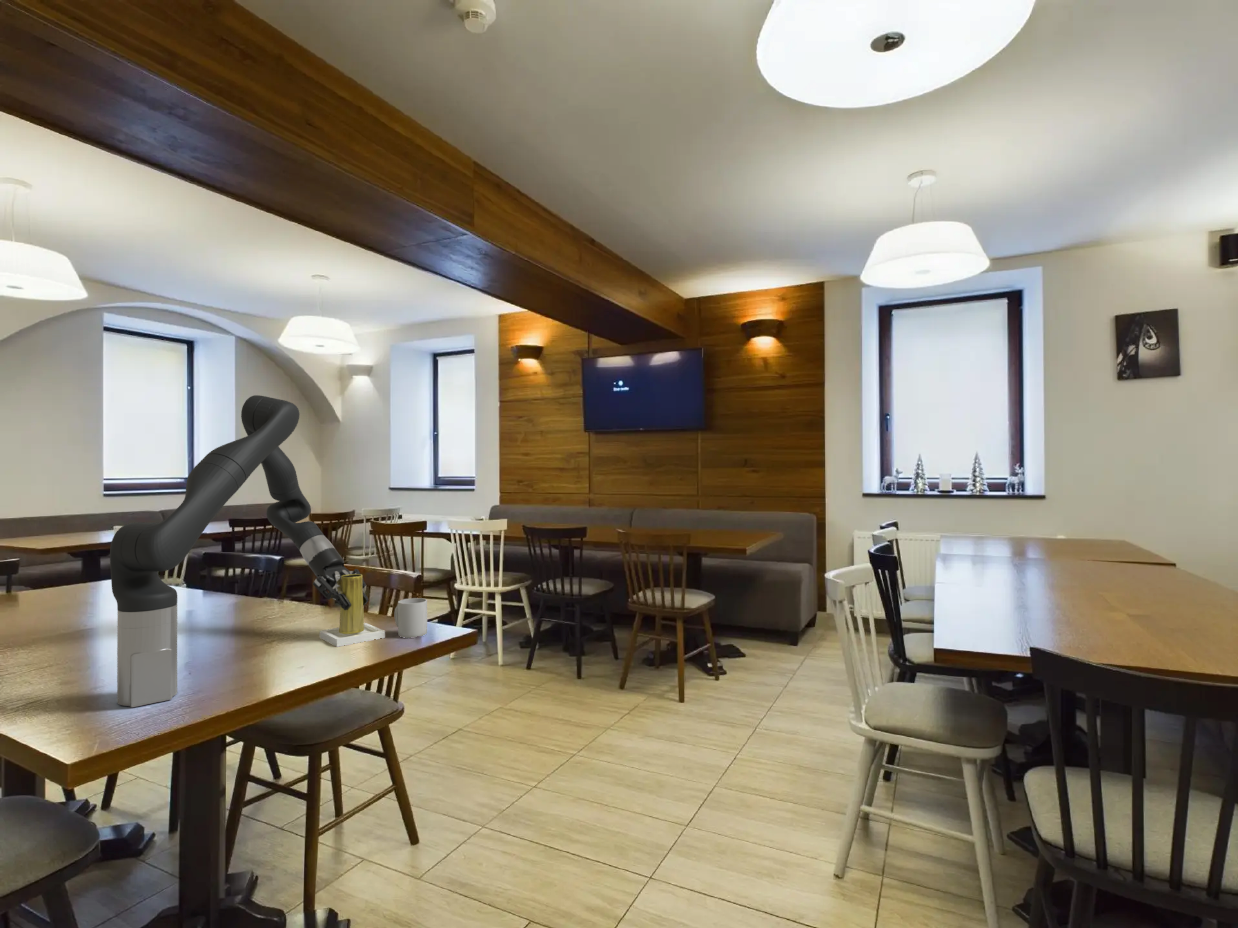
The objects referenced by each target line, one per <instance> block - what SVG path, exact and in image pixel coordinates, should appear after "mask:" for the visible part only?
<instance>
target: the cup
mask: <svg viewBox="0 0 1238 928" xmlns="http://www.w3.org/2000/svg"><path fill="white" fill-rule="evenodd" d="M393 614H394V623H395V626H397V633H398V634H397V635H398V637H399V636H401V637H405V638H404V639H408V638H410V639H412V638H411V637H417V636H423V635H425V634H426V635H427V633H428V599H426V598H422V597H421V598H420V597H419V598H418V597H411V598H403V599H401V600H398V601H397V605H396V607H395V608H394V613H393ZM426 635H425V636H426ZM401 637H400V638H401ZM423 637H424V636H423Z"/></svg>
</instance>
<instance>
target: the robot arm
mask: <svg viewBox="0 0 1238 928" xmlns="http://www.w3.org/2000/svg"><path fill="white" fill-rule="evenodd" d="M240 411H241V413H240V418H241V424H242V427H243V429H244V430H245V433H246V434H247V435H246V436H244V437H241V438H238V439H235V440H233V441H231V442H228V443H225V444H221V445H220V446H218V447H216V448H214V449H212V450H211V451H210V452H208V453H207V454H206V455H204V457H203V458H202V459H201V460H200V461H199V462H198V463H197V464H196V465H194V467H193V468H192V469H191V471H190V472H189V474H188V476H187V479H186V484H185V495H184V499H183V501H182V502H181V504H180V505H179V506H178V507H177V508H176V509H175V510H174V511H173V512H172V513H171V514H170V515H168V517H167V518H165V519H164V520H162V521H160V522H147V521H146V522H140V521H139V522H130V523H127V524H124V525H123V526H121V527H120V528H118V530H116V532H115V533H114V534H113V535H114V536H112V540H111V542H110V548H109V549H110V550H109V563H110V564H109V565H110V566H109V568H110V579H111V581H110V582H111V593H112V595H113V597H114V599H115V602H116V604H117V609H116V610H117V625H116V627H117V632H116V633H117V635H116V637H117V638H116V642H117V648H116V649H117V650H116V652H117V653H116V655H117V657H116V658H117V659H116V661H117V662H116V663H117V664H116V668H117V669H116V670H117V671H116V672H117V675H116V679H117V681H116V682H117V684H116V685H117V686H116V688H117V690H116V691H117V692H116V695H117V697H116V698H117V700H116V701H117V704H118V705H120V706H125V707H127V706H128V707H130V708H135V707H141V706H145V705H150V704H155V703H161V702H164V701H169V700H172V699H173V697H174V696H176V695H177V693H178V592H177V590H176V589H175V588H174V587H172V586H170V585H169V584H167V583H165V582H164V581H163V580H162V579H161V577H160V576H159V572H167V571H170V570H172V569H174V568H176V567H177V566H178V565H180V564H181V562H182V561H183V560H184V559H185V558H186V557H187V556H188V554H189V553H190V551H191V550H192V548H194V546H195V544H196V543H197V541H198V539H199V538H200V537H201V536H202V534H203V532H204V531H205V529H206V528H207V527H208V525H209V524H210V523H211V522H212V520H213V519H215V517H216V516H217V514H218V513H219V512H220V511H221V509H222V508H223V507H224V506H225V505H226V504H227V502H228V501H230V499H232V497H233V496H234V495H235V494H236V493H237V491H238V490H239V489H240V488H241V487H242V486H243V485H244V484H245V483H246V482H247V480H248V478H249V477H250V476H251V475H252V474H253V473H254V471H255V470H257V468H258V467H259V466H260V464H261V467H262V469H263V472H264V475H265V479H266V484H267V488H268V492H269V495H270V497H271V499H274V500H275V501H276V502H274V503H272V504H270V505H269V506H268V507H267V509H266V512H265V513H266V514H265V515H266V518H267V520H268V522H269V523H270V524H271V526H273V527H274V528H275V529H277V530H278V531H279V532H281V533H282V534H284V535H285V536H286V537H287V538H289V539H290V540H291V541H292V543H294V545H295V547H296V548H297V549H298V550H299V552H300V554H301V556H302V558H303V560H304V561H305V563H306V564H307V565H308V567H309V568H310V569H311V571H312V572H313V574H314V575H315V576H316V578H315V580H314V581H313V582H312V585H313V586H314V587H315V589H317V591H318V592H320V594H321V595H322V596H324V598H326V600H331V599H332V600H335V601H336V602H337V603H338V605H339V607H340V606H341V607H342V608H343V609H344V610H348V609H349V608H350V607H351V603H350V602H349V600H348V599H347V597H346V596H345V595H344V594H342V590H341V576H342V575H348V574H361V572H360V570H359V569H357V568H355V569H354V570H349V569H348V568H346V566H345V561H344V558H343V557H342V556H341V555H340V553H339V552H338V550H337V549H336V547H335V546H334V545H333V543H331V541H330V540H329V539H328V538H327V537H326V535H324V533H323V532H322V531H321V529H320V528H319V526H318V524H316V522H314V521H311V520H308V521H302V520H305V519H306V518H308V517H309V515H310V514H311V511H312V507H311V504H310V502H309V501H308V499H307V497H305V496H304V494H303V492H302V490H301V488H300V485H299V480H298V475H297V471H296V468H295V466H294V464H293V462H292V460H291V459H290V458H289V457H288V456H287V454H286V453H285V452H284V451H283V450H282V448H280V446H281V445H282V444H283V443H284V442H285V441H286V440H287V439H289V437H290V436H291V435H292V434H293V432H294V431H295V429H296V428H297V426H298V423H299V420H300V414H301V413H300V410H299V408H298V406H297V405H296V404H295V403H293V402H291V401H288V400H284V399H279V398H274V397H270V396H266V395H258V394H257V395H256V394H255V395H251V396H249V397H248V398H247V399H246V400H245V401H244V403H243V404H242V407H241V410H240ZM300 521H302V522H300ZM366 586H367V584H366V582H365V580H364V577H362V589H363V590H364V589H365V587H366ZM368 603H369V597H368V596H367V594H366V593H365V592H364V591H363V606H366V605H367V604H368Z"/></svg>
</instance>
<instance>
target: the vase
mask: <svg viewBox="0 0 1238 928" xmlns="http://www.w3.org/2000/svg"><path fill="white" fill-rule="evenodd" d="M362 578H363V574H362V573H360V574H348V575H342V576H341V590H342V594H344V595H345V596H346V597H347V599H348V600H349V602H350V603H351V607H350V608H349V609H348V610H344V609H343V608H342V607H341V606H340V605H339V627H338V628H339V633H341V634H354V633H359V632H362V631H364V623H365V617H364V605H363V592H364V588H363V589H362Z"/></svg>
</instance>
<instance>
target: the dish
mask: <svg viewBox="0 0 1238 928" xmlns="http://www.w3.org/2000/svg"><path fill="white" fill-rule="evenodd" d="M380 638H382V639H385V638H386V630H384V629H382V628H379V627H377V626H374V625H371V624H370V623H367V622H364V631H362V632H359V633H354V634H341V633H339V627H334V628H328V629H324V630H322V629H321V630H319V639H321V640H323V641H325V642H327V643H329V644H330V645H332V646H334V647H337V648H338V647H344V645H345V646H349V645H353V643H355V644H360V642H361V643H365V642H364V641H366V642H370V641H375V640H374V639H376V640H381V639H380Z"/></svg>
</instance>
